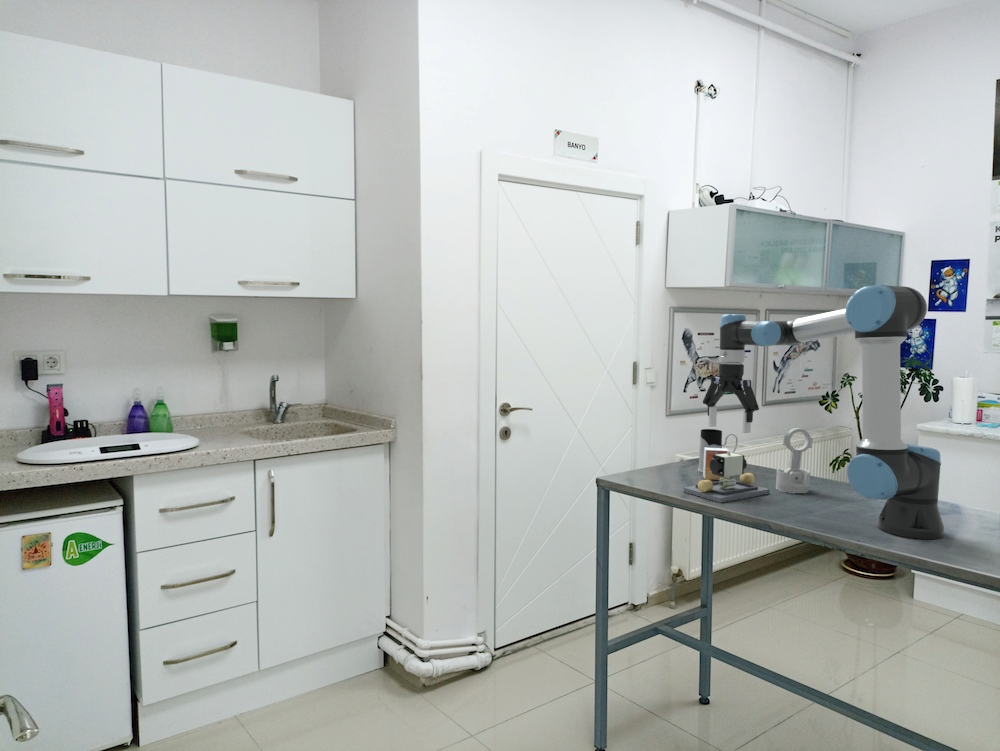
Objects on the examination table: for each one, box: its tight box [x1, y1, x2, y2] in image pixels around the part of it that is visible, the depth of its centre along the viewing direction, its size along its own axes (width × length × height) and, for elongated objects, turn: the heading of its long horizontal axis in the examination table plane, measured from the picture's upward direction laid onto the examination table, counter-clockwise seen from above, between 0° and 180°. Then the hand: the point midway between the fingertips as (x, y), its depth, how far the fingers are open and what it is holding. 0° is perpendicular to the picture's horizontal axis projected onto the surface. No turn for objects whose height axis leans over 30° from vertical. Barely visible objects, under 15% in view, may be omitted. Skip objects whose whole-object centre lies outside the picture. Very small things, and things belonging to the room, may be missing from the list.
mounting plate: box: [683, 472, 771, 504], centre depth 224 cm, size 23×15×5 cm, turn 121°
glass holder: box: [697, 428, 738, 473], centre depth 256 cm, size 9×14×15 cm, turn 93°
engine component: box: [775, 427, 814, 494], centre depth 229 cm, size 11×20×10 cm
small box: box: [702, 447, 730, 481], centre depth 245 cm, size 8×6×10 cm
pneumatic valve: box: [709, 450, 748, 490], centre depth 224 cm, size 6×12×12 cm, turn 116°
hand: (728, 429), depth 223 cm, fingers open, 13 cm apart
